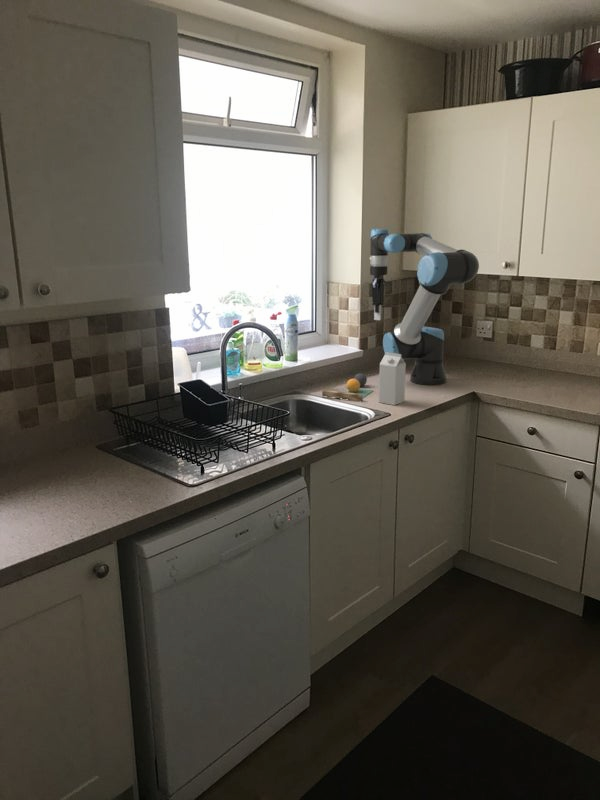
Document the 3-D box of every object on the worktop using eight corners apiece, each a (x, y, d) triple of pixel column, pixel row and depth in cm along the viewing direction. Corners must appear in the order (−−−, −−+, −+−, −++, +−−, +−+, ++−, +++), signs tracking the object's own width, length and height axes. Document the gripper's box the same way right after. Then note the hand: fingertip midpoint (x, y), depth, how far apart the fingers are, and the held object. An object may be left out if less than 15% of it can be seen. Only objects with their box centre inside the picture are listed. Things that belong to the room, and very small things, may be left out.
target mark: (373, 390, 266) (373, 390, 266) (361, 399, 254) (361, 398, 254) (341, 387, 272) (341, 387, 272) (328, 395, 260) (328, 395, 260)
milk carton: (388, 398, 255) (389, 350, 250) (404, 401, 250) (406, 352, 245) (378, 402, 249) (379, 353, 244) (394, 405, 245) (396, 355, 240)
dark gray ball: (365, 372, 270) (362, 384, 269) (370, 377, 275) (366, 389, 273) (353, 370, 273) (350, 382, 271) (358, 375, 277) (354, 387, 276)
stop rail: (362, 400, 253) (362, 394, 252) (360, 401, 251) (360, 395, 250) (324, 396, 259) (324, 390, 258) (322, 397, 257) (322, 391, 257)
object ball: (362, 377, 265) (357, 381, 260) (361, 390, 266) (357, 394, 262) (349, 376, 267) (344, 380, 262) (348, 389, 268) (344, 393, 264)
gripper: (375, 264, 291) (374, 317, 298) (365, 266, 280) (364, 321, 286) (391, 264, 288) (390, 318, 294) (382, 266, 277) (381, 322, 283)
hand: (377, 319), depth 290 cm, fingers closed
